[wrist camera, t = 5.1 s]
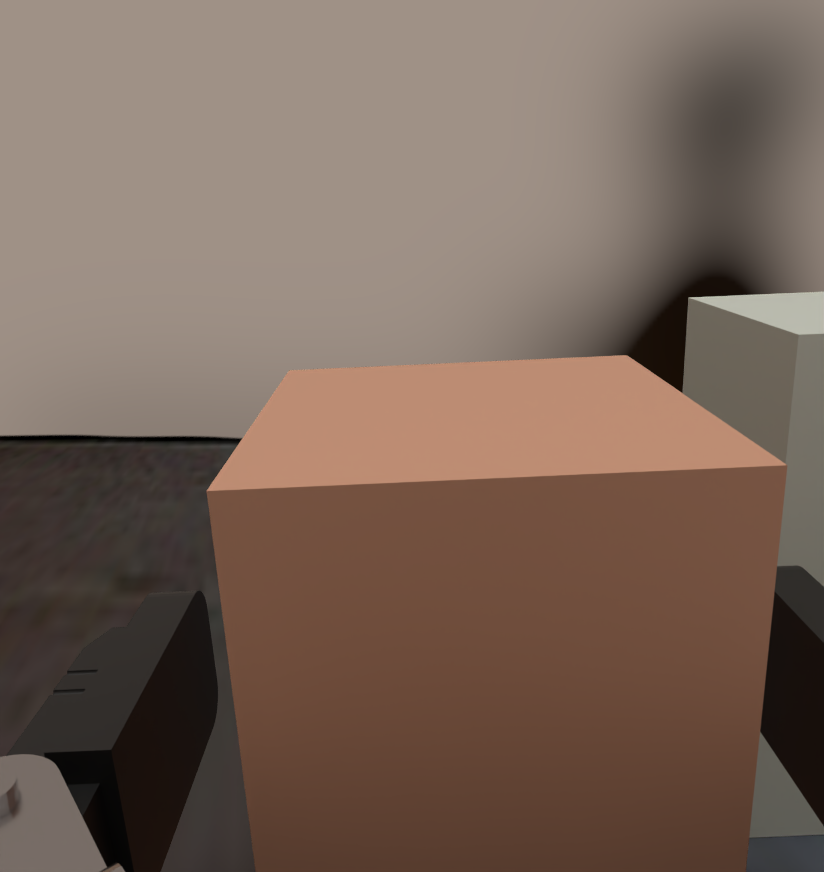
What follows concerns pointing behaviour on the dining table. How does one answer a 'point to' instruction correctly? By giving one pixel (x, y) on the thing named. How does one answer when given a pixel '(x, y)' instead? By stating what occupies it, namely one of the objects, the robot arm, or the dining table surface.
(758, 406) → the sage block
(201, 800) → the dining table surface
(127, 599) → the dining table surface
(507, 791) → the terracotta block
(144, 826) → the robot arm
